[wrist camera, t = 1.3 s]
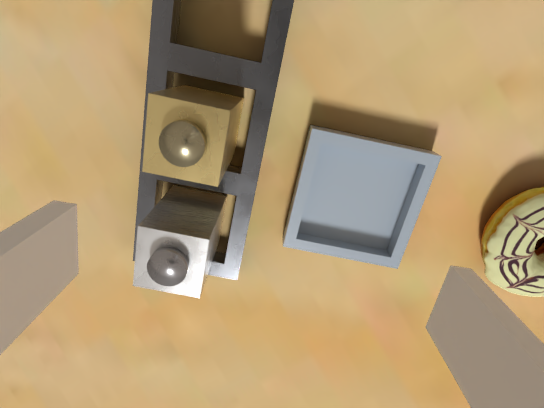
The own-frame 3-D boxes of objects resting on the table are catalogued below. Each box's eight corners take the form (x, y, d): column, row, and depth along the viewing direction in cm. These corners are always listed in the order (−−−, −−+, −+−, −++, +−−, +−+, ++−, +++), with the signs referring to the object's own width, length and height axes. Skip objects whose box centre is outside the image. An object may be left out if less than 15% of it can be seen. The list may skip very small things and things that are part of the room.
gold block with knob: (185, 85, 30) (143, 94, 21) (243, 97, 30) (228, 112, 21) (178, 143, 32) (137, 175, 23) (234, 154, 32) (216, 190, 23)
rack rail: (168, -89, 26) (160, -100, 24) (305, -55, 26) (307, -64, 24) (140, 250, 36) (133, 260, 34) (239, 269, 36) (237, 280, 34)
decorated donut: (467, 286, 37) (487, 309, 33) (475, 187, 33) (498, 202, 29) (574, 276, 36) (606, 299, 32) (595, 174, 32) (633, 187, 29)
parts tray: (310, 124, 31) (312, 128, 29) (432, 150, 31) (441, 156, 30) (282, 236, 35) (282, 246, 33) (391, 258, 35) (397, 268, 34)
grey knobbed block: (173, 185, 33) (133, 230, 24) (227, 195, 33) (206, 245, 24) (168, 232, 35) (128, 292, 26) (218, 242, 35) (197, 304, 26)
